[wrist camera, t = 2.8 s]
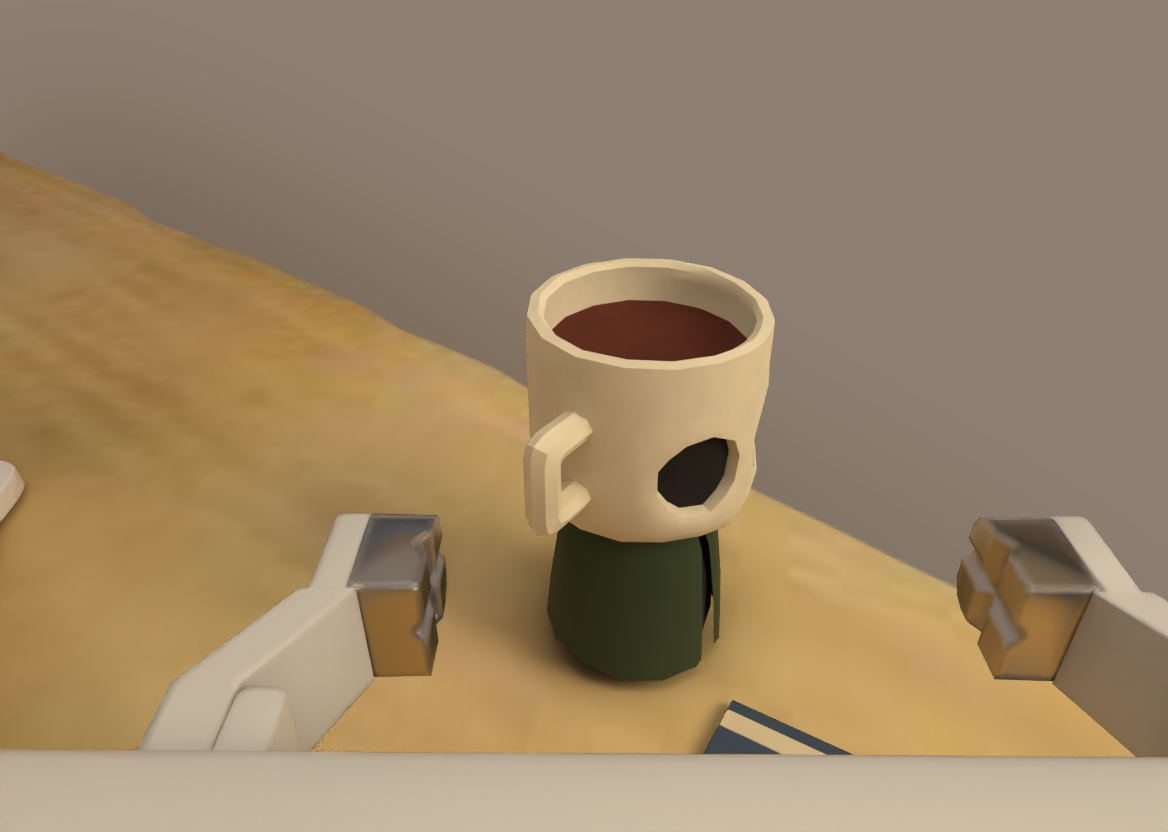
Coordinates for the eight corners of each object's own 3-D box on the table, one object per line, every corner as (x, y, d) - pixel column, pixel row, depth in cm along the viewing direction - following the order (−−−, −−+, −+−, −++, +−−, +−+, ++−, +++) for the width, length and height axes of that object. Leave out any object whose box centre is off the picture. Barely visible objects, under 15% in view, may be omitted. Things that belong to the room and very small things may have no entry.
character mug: (630, 784, 26) (651, 438, 19) (460, 672, 30) (423, 343, 23) (787, 580, 34) (844, 273, 27) (635, 509, 37) (649, 221, 30)
